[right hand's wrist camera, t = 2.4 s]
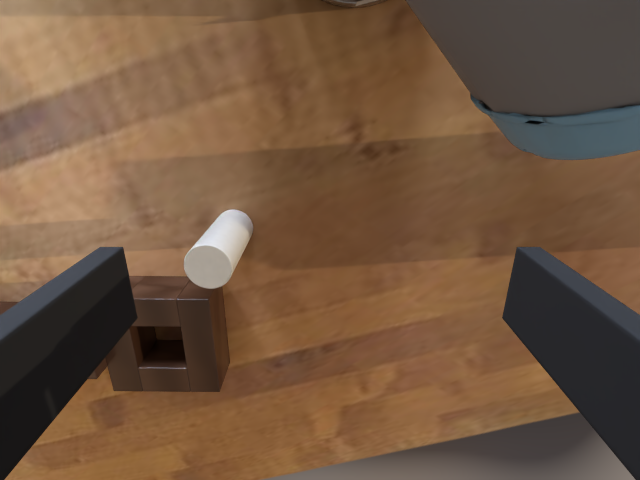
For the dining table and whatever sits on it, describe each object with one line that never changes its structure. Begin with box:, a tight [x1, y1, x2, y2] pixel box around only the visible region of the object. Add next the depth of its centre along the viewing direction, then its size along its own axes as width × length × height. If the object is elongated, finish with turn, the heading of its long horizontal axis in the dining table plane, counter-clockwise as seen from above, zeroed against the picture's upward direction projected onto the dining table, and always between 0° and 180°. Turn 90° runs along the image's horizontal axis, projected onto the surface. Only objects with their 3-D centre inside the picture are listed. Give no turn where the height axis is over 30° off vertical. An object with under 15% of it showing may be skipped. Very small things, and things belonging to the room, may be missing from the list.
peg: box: [184, 209, 253, 289], centre depth 35 cm, size 4×4×10 cm
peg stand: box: [0, 276, 230, 392], centre depth 41 cm, size 32×12×7 cm, turn 90°
